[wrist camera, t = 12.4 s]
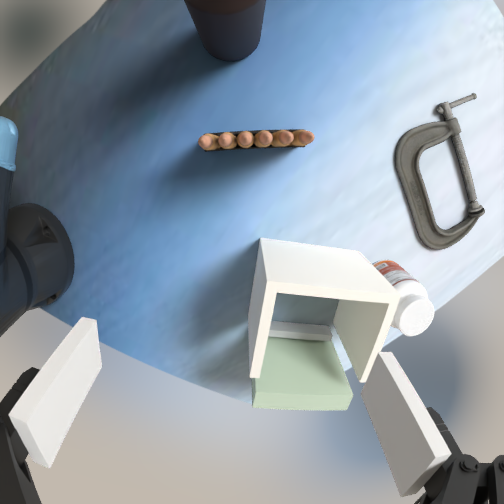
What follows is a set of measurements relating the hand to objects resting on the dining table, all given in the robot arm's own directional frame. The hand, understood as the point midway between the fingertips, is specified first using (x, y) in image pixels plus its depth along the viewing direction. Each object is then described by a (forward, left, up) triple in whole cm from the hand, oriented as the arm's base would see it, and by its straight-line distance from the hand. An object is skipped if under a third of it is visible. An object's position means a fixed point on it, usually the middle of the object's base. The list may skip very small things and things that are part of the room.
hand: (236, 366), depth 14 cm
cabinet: (+9, -10, -27) cm, 30 cm away
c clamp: (+27, +12, -28) cm, 40 cm away
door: (+9, -16, -27) cm, 32 cm away
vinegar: (-4, +23, -27) cm, 35 cm away
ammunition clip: (0, +10, -27) cm, 29 cm away
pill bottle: (+20, -5, -27) cm, 34 cm away
